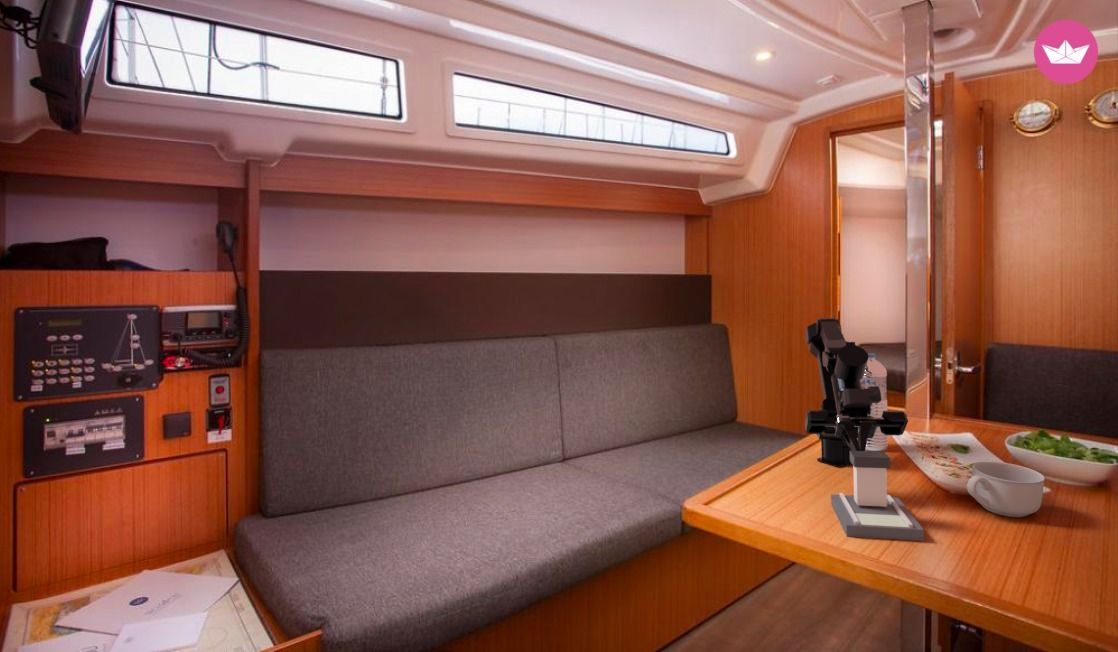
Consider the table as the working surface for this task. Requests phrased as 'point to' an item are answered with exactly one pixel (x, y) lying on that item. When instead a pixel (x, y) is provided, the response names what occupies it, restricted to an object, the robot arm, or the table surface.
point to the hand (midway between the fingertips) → (861, 459)
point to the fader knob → (870, 477)
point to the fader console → (876, 519)
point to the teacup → (1006, 488)
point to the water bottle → (876, 377)
